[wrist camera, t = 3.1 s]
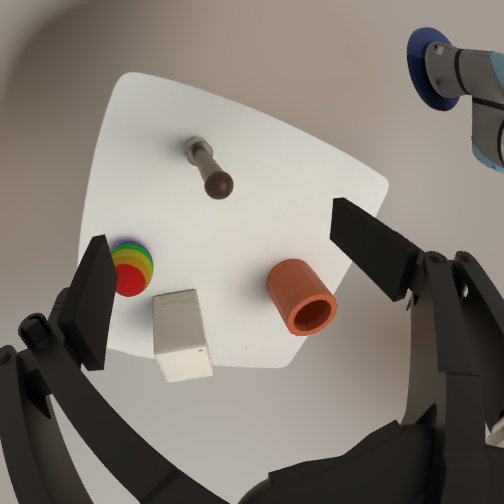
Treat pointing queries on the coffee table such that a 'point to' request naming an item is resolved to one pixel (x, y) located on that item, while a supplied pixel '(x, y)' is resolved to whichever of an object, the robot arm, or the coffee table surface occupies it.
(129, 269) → the decorative egg
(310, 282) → the jar
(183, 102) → the coffee table surface
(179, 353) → the rectangular carton
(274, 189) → the coffee table surface
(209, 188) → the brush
